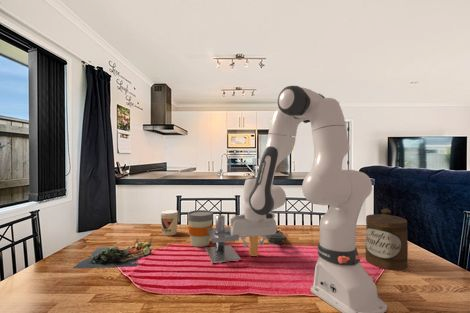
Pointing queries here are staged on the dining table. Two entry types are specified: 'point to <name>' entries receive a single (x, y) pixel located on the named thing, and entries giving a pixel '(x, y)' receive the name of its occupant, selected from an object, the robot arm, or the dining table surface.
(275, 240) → the zipper pull
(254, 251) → the wedge pin
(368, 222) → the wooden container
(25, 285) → the dining table surface
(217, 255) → the grey finned stand
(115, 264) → the plated dish
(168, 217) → the coffee cup
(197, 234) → the reusable coffee cup
